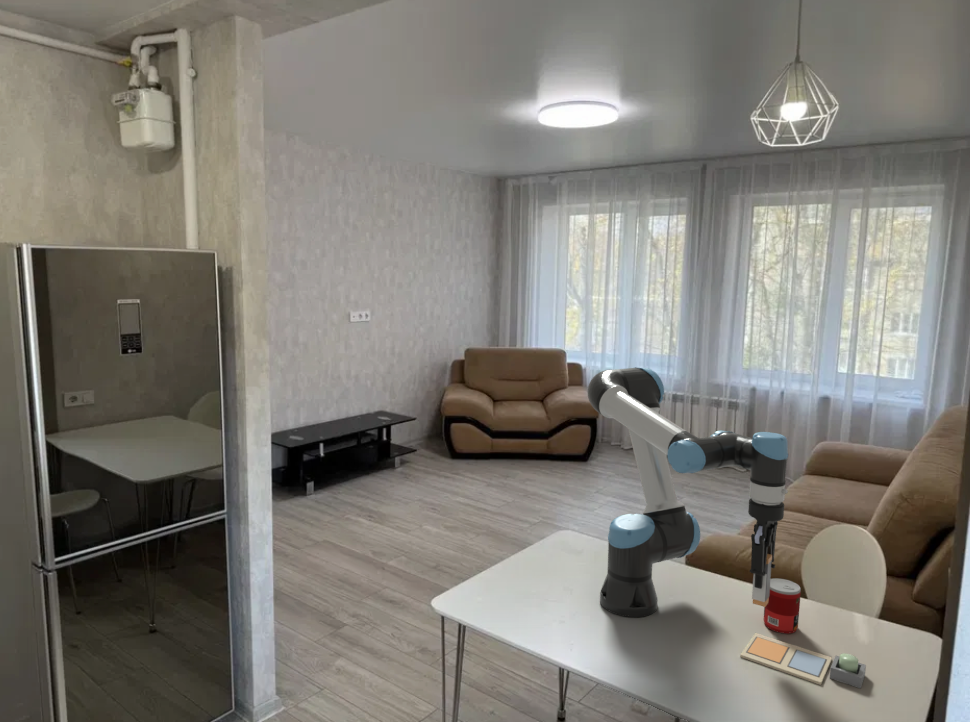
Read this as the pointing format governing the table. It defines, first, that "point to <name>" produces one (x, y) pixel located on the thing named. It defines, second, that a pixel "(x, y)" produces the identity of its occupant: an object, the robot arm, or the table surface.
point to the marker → (768, 572)
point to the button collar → (847, 674)
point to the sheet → (787, 658)
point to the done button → (848, 663)
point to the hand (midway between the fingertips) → (760, 596)
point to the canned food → (783, 606)
